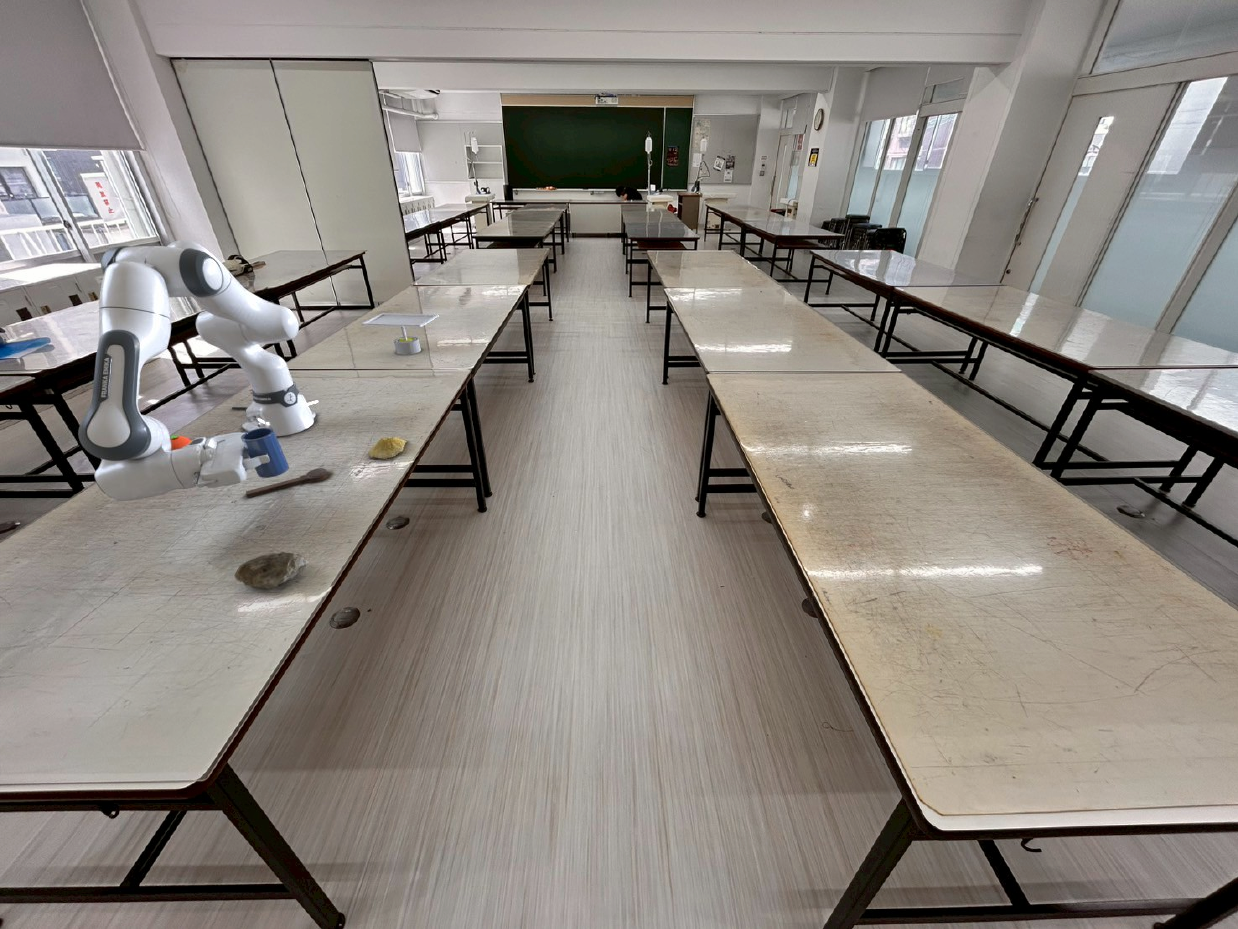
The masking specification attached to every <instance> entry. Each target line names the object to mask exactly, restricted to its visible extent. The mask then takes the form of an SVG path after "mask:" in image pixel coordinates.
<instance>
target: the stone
mask: <svg viewBox="0 0 1238 929" xmlns="http://www.w3.org/2000/svg"><path fill="white" fill-rule="evenodd" d="M308 564H309V559H308V557H307V556H305V555H302V554H301V553H298V552H287V551H281V552H269V553H266V554H261V555H259V556H256V557H254V558H252V559H250V560H249V559H248V560H247V561H245V562H244V563H242V564H240V565H239V566H238V568H237V569H236V571H235V573H234V574H233V576H234V578H235V580H236V581H239V582H240V583H243V584H244V586H246V587H247V586H248V587H252V588H262V589H267V590H270V589H272V588H273V589H274V588H277V587H281V586H282V585H284V584H285V583H286V582H288V581H291V580H292V579H294V578H296V576H297V575H298V574H299V573H301V572H302V571H305V568H306V567H307V565H308Z"/></svg>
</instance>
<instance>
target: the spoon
mask: <svg viewBox="0 0 1238 929" xmlns="http://www.w3.org/2000/svg"><path fill="white" fill-rule="evenodd" d="M328 476H329V473H328V471H327V469H326V468H323V467H319V468H314V469H311V470H309V471H308V472H306V474H304V475H300V476H298V477H295V478H292V479H288V480H284V481H281V482H276V483H273V484H269V485H265V486H262V487H257V488H254V489H250V490H246V491H245V496H246V497H247V498H252V497H255V496H259V495H262V494H266V493H271V492H273V491H277V490H282V489H285V488H290V487H293V486H296V485H300V484H306V483H319V482H321V481H324V480H326V479H327V478H328Z"/></svg>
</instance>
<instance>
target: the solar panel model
mask: <svg viewBox="0 0 1238 929" xmlns="http://www.w3.org/2000/svg"><path fill="white" fill-rule="evenodd" d="M439 317H440V316H439V314H431V313H430V314H429V313H428V314H425V313H389V312H388V313H387V312H386V313H385V312H381V313H379V314H377V315H375V316H373V317H371V318H369V319H367V320H365V321H363V322H361V323H360V326H361V327H387V328H388V327H391V328H395V327H396V328H400V329H401V333H402V337H397V338H395V339H394V340H393V344H394V348H395V352H396V354H398V355H403V356H406V355H407V356H408V355H415V354H418V353H420V352H421V351H422V348H421V344H420V340H419V338H418V336H417V337H416V336H407V332H406V329H405V328H422V327H424V326H425V325H427V324H428V323H431V322H432V321H433V320H435V319H437V318H439Z"/></svg>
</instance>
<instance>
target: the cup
mask: <svg viewBox="0 0 1238 929" xmlns="http://www.w3.org/2000/svg"><path fill="white" fill-rule="evenodd" d="M244 433H245V434H243V435H242V436H241V440H242V442H243V444H244V446H245V448H246V450H247V452H248V455H249V459H252V458H254V457H257V456H258V455H259V454H264V453H267V454H268V455H269V457H270V461H269V462H268V463H264V464H261V465H259V466H257V467H255V468H254V469H255V471H256V474H257V476H258V477H259V478H262V479H269V478H274V477H278V476H280V475H283V474H284V473H286V472H287V471H288V470H289V468H290V466H289V465H290V464H289V463H288V460H287V458H286V456H285V453H284V451H283V448H282V446H281V444H280V441H279V440H278V436H276V434H275V432H274V430H273V429H272V428H258V429H254V430H251V431H247V432H244Z"/></svg>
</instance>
